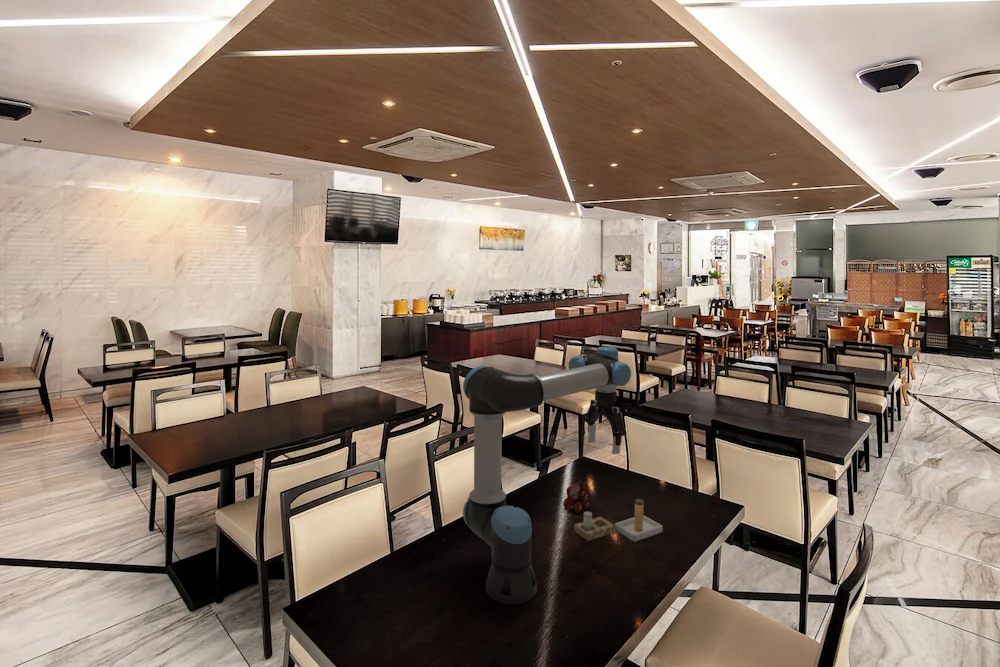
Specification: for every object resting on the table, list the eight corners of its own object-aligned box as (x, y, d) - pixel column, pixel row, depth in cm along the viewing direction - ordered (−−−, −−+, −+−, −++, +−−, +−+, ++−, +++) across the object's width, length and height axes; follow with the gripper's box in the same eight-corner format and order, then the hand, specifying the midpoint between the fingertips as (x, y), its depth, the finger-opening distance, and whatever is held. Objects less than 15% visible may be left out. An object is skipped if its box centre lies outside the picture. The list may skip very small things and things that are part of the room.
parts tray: (634, 542, 181) (634, 535, 180) (614, 529, 189) (614, 523, 189) (662, 532, 188) (662, 525, 187) (642, 520, 196) (642, 514, 196)
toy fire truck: (593, 506, 208) (594, 481, 207) (574, 516, 200) (575, 490, 198) (579, 500, 213) (579, 476, 212) (560, 510, 205) (561, 485, 203)
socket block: (588, 541, 181) (588, 534, 181) (573, 531, 188) (574, 524, 188) (615, 532, 188) (615, 525, 187) (600, 522, 194) (600, 516, 194)
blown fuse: (637, 532, 186) (639, 503, 185) (632, 528, 189) (633, 499, 188) (644, 530, 188) (645, 501, 186) (638, 526, 190) (639, 498, 189)
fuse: (586, 536, 184) (587, 516, 183) (581, 533, 187) (582, 512, 186) (593, 534, 186) (593, 514, 185) (588, 531, 188) (588, 510, 187)
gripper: (638, 396, 176) (635, 457, 178) (592, 382, 198) (590, 436, 200) (621, 399, 172) (618, 460, 175) (576, 384, 194) (574, 439, 197)
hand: (603, 447), depth 188 cm, fingers open, 13 cm apart
